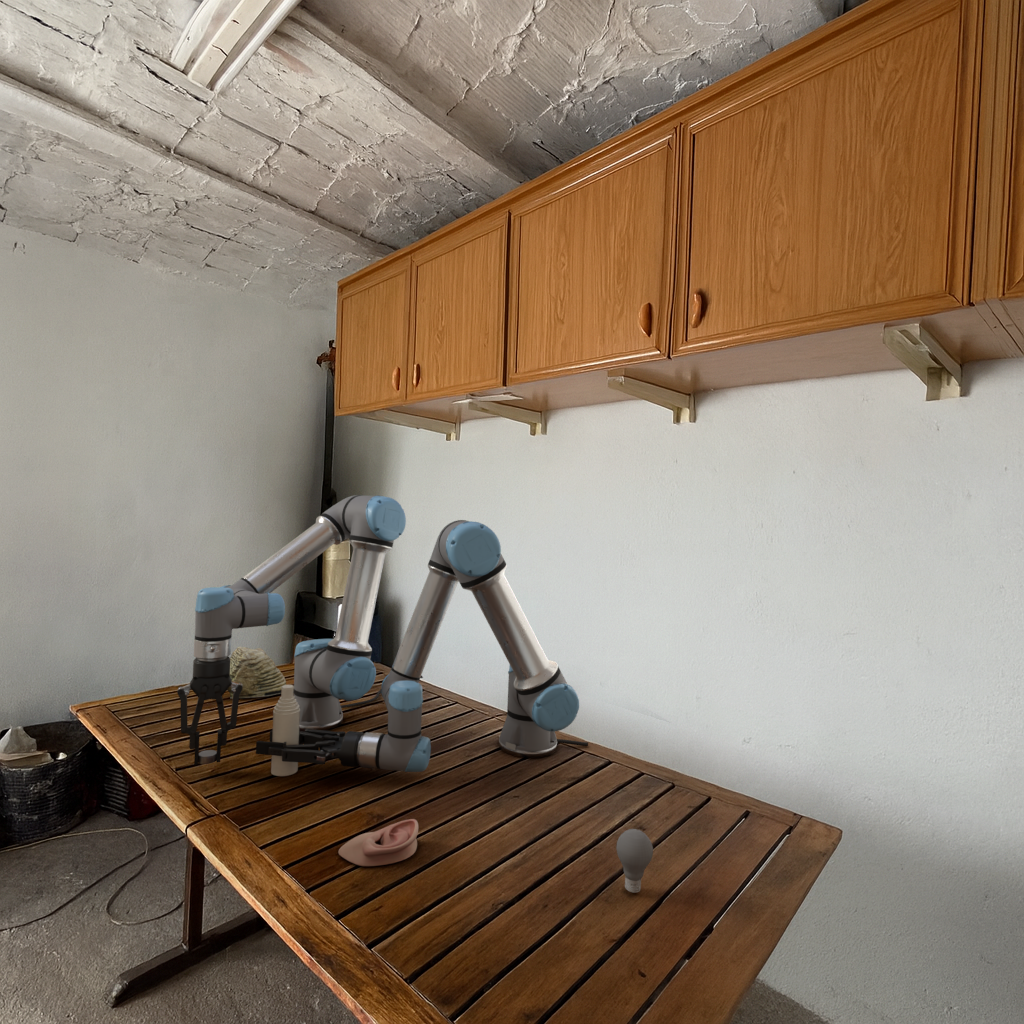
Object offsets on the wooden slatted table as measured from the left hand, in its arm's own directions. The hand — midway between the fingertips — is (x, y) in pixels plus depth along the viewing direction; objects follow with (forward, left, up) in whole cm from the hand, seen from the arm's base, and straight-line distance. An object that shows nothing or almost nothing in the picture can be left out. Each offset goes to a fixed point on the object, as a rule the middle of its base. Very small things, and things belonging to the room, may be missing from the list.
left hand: (207, 761), depth 142 cm
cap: (0, 0, +1) cm, 1 cm away
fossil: (-36, -44, -3) cm, 57 cm away
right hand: (-10, +6, +3) cm, 12 cm away
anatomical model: (-6, +52, -3) cm, 52 cm away
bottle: (-13, +11, -3) cm, 17 cm away
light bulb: (-27, +92, -3) cm, 96 cm away
